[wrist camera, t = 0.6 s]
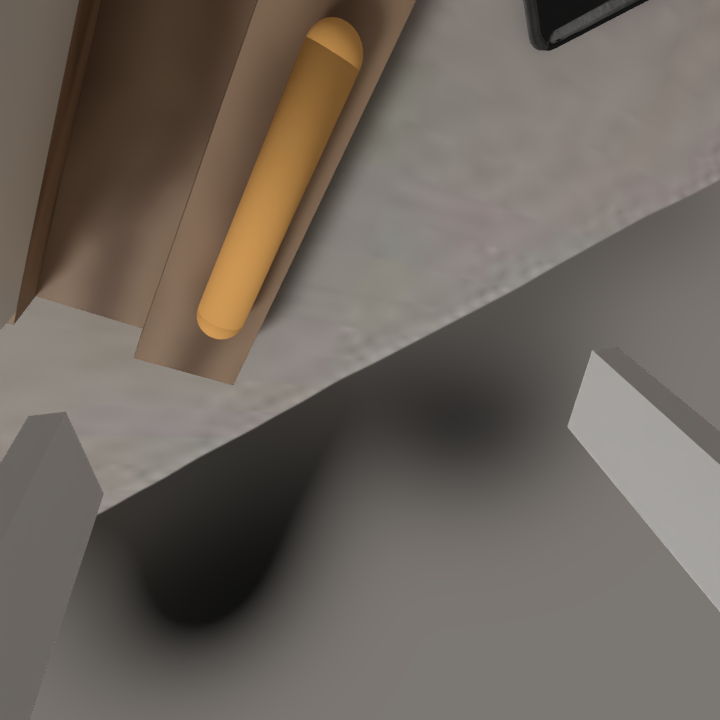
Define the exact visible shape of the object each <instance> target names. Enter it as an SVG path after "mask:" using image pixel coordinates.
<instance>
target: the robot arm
mask: <svg viewBox="0 0 720 720" xmlns="http://www.w3.org/2000/svg"><path fill="white" fill-rule="evenodd" d="M568 428H569V429H570V430H571V432H572V433H573V434H574V436H575V437H576V438H577V439H578V440H579V442H580V443H581V444H582V445H583V447H584V448H585V449H586V450H587V451H588V453H589V454H590V455H591V456H592V457H593V458H594V460H595V461H596V462H597V463H598V465H599V466H600V467H601V468H602V470H603V471H604V472H605V473H606V474H607V476H608V477H609V478H610V479H611V480H612V482H613V483H614V484H615V485H616V487H617V488H618V489H619V490H620V491H621V493H622V494H623V495H624V496H625V497H626V499H627V500H628V501H629V502H630V504H631V505H632V506H633V507H634V508H635V509H636V511H637V512H638V513H639V514H640V516H641V517H642V518H643V519H644V520H645V522H646V523H647V524H648V525H649V527H650V528H651V529H652V530H653V531H654V533H655V534H656V535H657V536H658V537H659V539H660V540H661V541H662V542H663V544H664V545H665V546H666V547H667V548H668V550H669V551H670V552H671V553H672V554H673V556H674V557H675V558H676V559H677V561H678V562H679V563H680V564H681V565H682V567H683V568H684V569H685V570H686V571H687V573H688V574H689V575H690V576H691V578H692V579H693V580H694V581H695V582H696V584H698V586H699V587H700V588H701V590H702V591H703V592H704V593H705V594H706V596H707V597H708V598H709V599H710V600H711V602H712V603H713V604H714V605H715V607H716V608H717V609H718V610H719V611H720V431H718V430H717V429H716V428H715V427H714V426H712V425H711V424H710V423H708V422H707V421H706V420H705V419H704V418H703V417H701V416H700V415H699V414H698V413H697V412H695V411H694V410H693V409H692V408H691V407H689V406H688V405H687V404H686V403H684V402H683V401H682V400H681V399H680V398H679V397H677V396H676V395H675V394H674V393H673V392H671V391H670V390H669V389H668V388H666V387H665V386H664V385H663V384H662V383H660V382H659V381H658V380H657V379H656V378H654V377H653V376H652V375H651V374H649V373H648V372H647V371H646V370H645V369H643V368H642V367H641V366H640V365H639V364H637V363H636V362H635V361H634V360H632V359H631V358H630V357H629V356H628V355H626V354H625V353H624V352H623V351H622V350H621V349H619V348H618V347H617V348H609V349H599V350H592V353H591V356H590V359H589V362H588V365H587V368H586V371H585V375H584V378H583V381H582V384H581V387H580V390H579V393H578V396H577V399H576V402H575V406H574V408H573V411H572V415H571V418H570V421H569V424H568ZM103 494H104V493H103V491H102V489H101V487H100V485H99V483H98V480H97V478H96V476H95V474H94V472H93V470H92V467H91V465H90V463H89V461H88V459H87V457H86V454H85V452H84V450H83V448H82V446H81V444H80V441H79V439H78V437H77V435H76V433H75V431H74V429H73V426H72V424H71V422H70V420H69V418H68V416H67V413H66V412H60V413H51V414H43V415H34V416H29V417H28V418H27V420H26V422H25V423H24V425H23V427H22V428H21V430H20V432H19V433H18V435H17V437H16V438H15V440H14V442H13V443H12V445H11V447H10V448H9V450H8V452H7V453H6V455H5V457H4V458H3V460H2V462H1V463H0V720H30V717H31V714H32V711H33V708H34V705H35V701H36V698H37V695H38V692H39V689H40V686H41V683H42V680H43V677H44V674H45V671H46V668H47V665H48V662H49V659H50V656H51V652H52V649H53V647H54V644H55V641H56V638H57V634H58V631H59V628H60V625H61V622H62V619H63V616H64V613H65V610H66V607H67V604H68V600H69V598H70V595H71V592H72V589H73V586H74V582H75V579H76V576H77V573H78V570H79V567H80V564H81V561H82V558H83V555H84V552H85V549H86V546H87V543H88V540H89V537H90V534H91V530H92V528H93V524H94V521H95V518H96V515H97V512H98V509H99V506H100V503H101V500H102V497H103Z"/></svg>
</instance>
